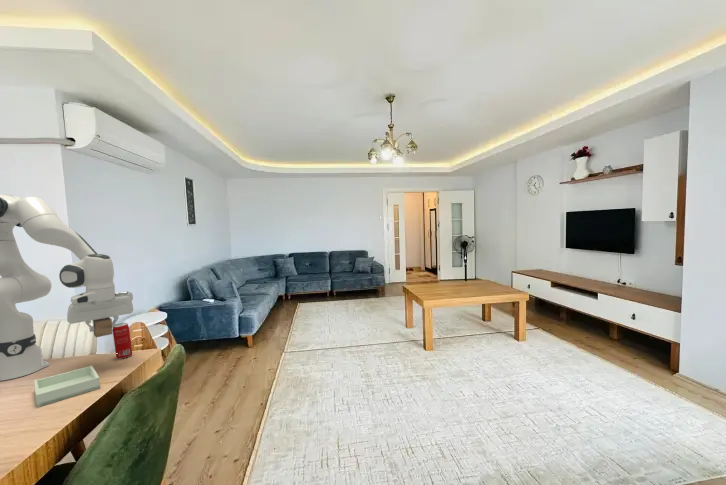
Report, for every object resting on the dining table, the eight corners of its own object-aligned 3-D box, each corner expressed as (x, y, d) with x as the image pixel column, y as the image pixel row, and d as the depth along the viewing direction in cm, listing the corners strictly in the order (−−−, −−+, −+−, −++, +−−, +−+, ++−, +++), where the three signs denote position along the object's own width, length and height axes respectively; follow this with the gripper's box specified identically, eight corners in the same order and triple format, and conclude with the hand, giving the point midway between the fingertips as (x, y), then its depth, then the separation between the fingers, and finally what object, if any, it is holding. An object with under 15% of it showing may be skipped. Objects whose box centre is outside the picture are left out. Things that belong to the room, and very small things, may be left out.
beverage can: (135, 354, 143) (133, 322, 142) (123, 360, 136) (121, 326, 136) (123, 354, 144) (121, 321, 143) (110, 360, 137) (108, 326, 137)
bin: (34, 391, 111) (33, 380, 110) (92, 375, 122) (91, 365, 122) (36, 407, 100) (36, 395, 100) (99, 388, 112) (99, 377, 112)
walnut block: (93, 334, 125) (93, 320, 125) (109, 331, 129) (109, 317, 129) (96, 337, 122) (95, 322, 122) (112, 334, 126) (111, 319, 126)
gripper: (130, 289, 135) (132, 321, 135) (65, 298, 120) (67, 334, 120) (134, 291, 131) (136, 324, 131) (67, 300, 115) (69, 337, 116)
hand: (102, 329), depth 125 cm, fingers closed on walnut block, 5 cm apart
